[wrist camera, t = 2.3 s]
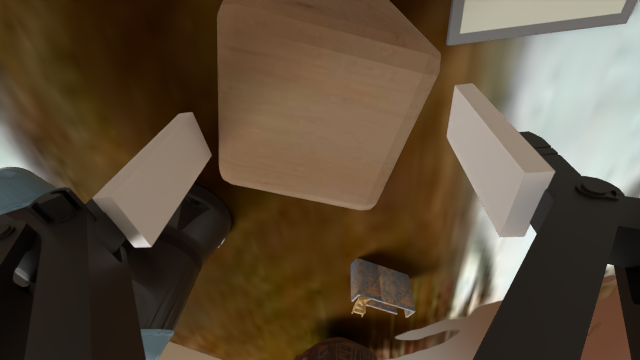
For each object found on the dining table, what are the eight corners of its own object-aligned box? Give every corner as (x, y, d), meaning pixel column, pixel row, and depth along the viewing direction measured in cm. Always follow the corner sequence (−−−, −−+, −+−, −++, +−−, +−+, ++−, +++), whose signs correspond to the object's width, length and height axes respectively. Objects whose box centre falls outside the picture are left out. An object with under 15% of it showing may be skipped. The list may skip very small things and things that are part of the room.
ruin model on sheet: (349, 264, 55) (350, 314, 47) (356, 255, 53) (358, 306, 46) (399, 280, 57) (407, 330, 50) (407, 273, 55) (418, 323, 48)
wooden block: (288, -33, 26) (207, -11, 11) (391, -5, 27) (458, 55, 11) (275, 74, 32) (213, 187, 17) (360, 94, 33) (375, 220, 18)
